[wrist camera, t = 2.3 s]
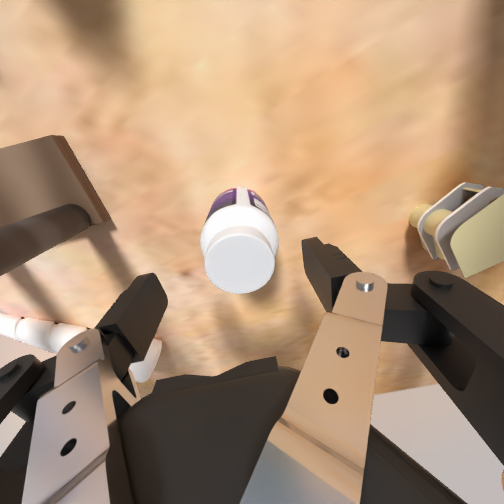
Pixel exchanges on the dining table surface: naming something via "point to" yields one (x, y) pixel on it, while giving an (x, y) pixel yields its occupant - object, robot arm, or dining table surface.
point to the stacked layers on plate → (464, 227)
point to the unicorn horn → (58, 334)
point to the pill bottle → (239, 241)
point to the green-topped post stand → (42, 199)
